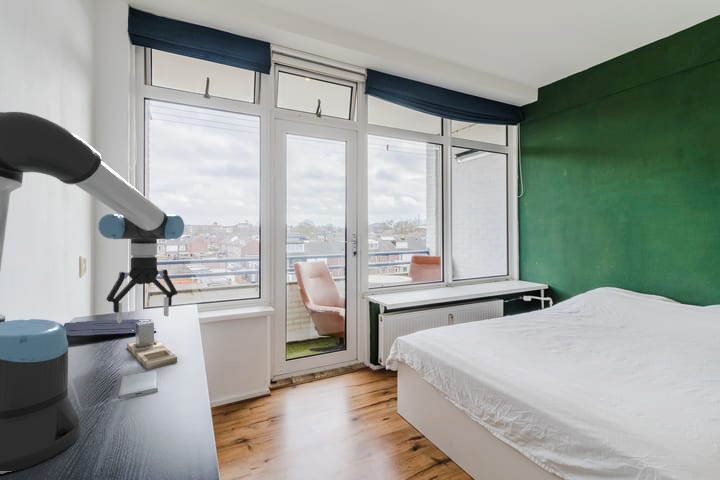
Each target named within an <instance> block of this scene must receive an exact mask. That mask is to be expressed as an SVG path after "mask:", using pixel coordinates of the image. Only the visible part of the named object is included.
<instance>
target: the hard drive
mask: <svg viewBox="0 0 720 480" xmlns="http://www.w3.org/2000/svg"><path fill="white" fill-rule="evenodd" d="M158 384H159V383H158V371H157V370H150V371H146V372H140V373H135V374H129V375H125V376H122V377H121V381H120V387H119V391H118V401H119V400H123V399H128V398H132V397H134V398H135V397H137V396H142V395H143V396H144V395H146V394H147V395H148V394H152V393H156V392H158V391H159V387H158V386H159V385H158Z"/></svg>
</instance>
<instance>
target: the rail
mask: <svg viewBox="0 0 720 480" xmlns="http://www.w3.org/2000/svg"><path fill="white" fill-rule="evenodd" d="M126 348H127V349H128V350H129V351H130V352H131V354H133V356H134V357H135V358H136V359H137V361H139V362H140V363H141V364H142V366H144V368H145V369H146V370H151V369H155V368H158V367H162V366H163V367H164V366H167V365H170V364H171V365H172V364H174V363H177V362H178V356H177V355H176V354H174V353H173V352H172V351H171V350H170V349H168V348H167V347H166V346H164V345H163V344H162V343H161V342H160V341H158V340H157V339H155V338H154V345H152V346H147V347H143V348H138V349H137V348H136V340H135V341H131V342H127V343H126Z"/></svg>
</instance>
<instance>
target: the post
mask: <svg viewBox="0 0 720 480" xmlns="http://www.w3.org/2000/svg"><path fill="white" fill-rule="evenodd" d="M148 320H149V321H143V322H137V323H136V333H135V341H136V348H137V349H138V348H143V347H147V346H152V345H154V339H155V332H154V329H155V322H154V321H151V320H152V319H148Z"/></svg>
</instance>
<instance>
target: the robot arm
mask: <svg viewBox="0 0 720 480" xmlns="http://www.w3.org/2000/svg"><path fill="white" fill-rule="evenodd" d="M102 159H103V158H102V155H101V154H100V152H99V151H97V150H96V148H93V147H92V146H91V145H89V143H88V142H87V141H85V140H84V139H82V138H80V137H79V136H78V135H76V134H74V133H73V132H71V131H70V130H68V129H66V128H65V127H63V126H61V125H59V124H58V123H55V122H53V121H51V120H49V119H46V118H44V117H42V116H39V115H36V114H33V113H29V112H24V111H4V112H3V111H2V112H1V111H0V271H1V268H2V261H3V260H2V259H3V251H4V244H5V237H6V231H7V230H6V228H7V222H8V221H7V220H8V213H9V205H10V197H11V194H12V192H13V191H15V190H18V189H19V188H21V187H22V184H23V177H24V173H37V174H43V175H46V176H51V177H53V178H55V179H57V180H58V181H60V182H62V183H64V184H67V185H72V186H73V185H75V186H76V187H78V188H79V189H81V190H82V191H84V192H85V193H87V194H88V195H90V196H91V197H93V198H94V199H95V200H98V201H99V202H101V203H102V204H104V205H105V206H107V207H108V208H109V209H111V210H112V211H114V212H116V213H108V214H105V215H104V216H102V217H101V218H100V219H99V222H98V231H99V233H100V234H101V236H102V237H104V238H106V239H110V240H130V256H132V257H131V258H130V271H129V272H127V271H126V272H125V271H119V273H118V278H117V280H116V281H115V283H114V285H113V287H112V288H111V290H110V291H109V293H108V295H107V297H106V301H108V302H109V303H110V302H111V303H113V308H112V309H113V313H114V314H115V313H117V314H116V315H117V316H116V318H117V319H116V320H117V322H118V323H122V320H123V302H122V299H123V298H124V297H125V296H126V295H127V294H128V292H130V291H131V289H132V288H134V287H135V286H136V285H144V284H146V285H147V284H148V285H149V284H151V283H152V284H153V285H155V286H156V287H157V289H159V290H160V291H161V292H162V293H163V294H164V295H165V296H163V316H164V317H169V312H170V311H169V307H171V306H172V303H173V302H172V298H173V296H176V295H178V291H177V289H176V287H175V286H174V283H173V282H172V280H171V278H170V276H169V274H168V270H167V269H160V270H158V257H157V255H158V241H157V240H168V241H169V240H175V239H180V238H181V237H182V236H183V234H184V230H185V222H184V220H183V218H182V217H181V216H180V215H178V214H173V213H169V214H167V213H165V211H163V210H162V209H160V208H159V207H158V206H157V205H156V204H155V203H153V202H152V201H151V200H149V198H147V197H146V196H145V195H143V194H142V193H141V191H139V190H137V188H135V187H134V186H132V185H131V184H130V183H129V182H127V181H126V179H124V178H123V177H122V176H120V175H119V174H118V173H117V172H115V171H114V170H113V169H112V168H111V167H109V166H108V165H107V164H106V163H105V162H103V160H102ZM158 275H160V277H162V278H163V280H164V282H165V284H166V285H167V287H168V289H169V290H168V289H167V288H166V287H165V286H164V285H163V284H161V282H160V281H159V280H158V279H157V277H158ZM128 277H130V278H131V280H130V281H129V282H128V283H127V284H126V285H125V287H123V288H122V290H121V291H120V292H119V293H118V291H119V290H120V288H121V286H122V285H123V283H124V280H125V279H127V278H128ZM117 293H118V294H117ZM67 336H68V335H66V329H65V327H64V324H61V323H60V322H58V321H55V320H49V319H37V318H36V319H35V318H33V319H32V318H31V319H14V320H12V319H11V320H6V315H4V314H3V313H1V312H0V471H14V470H18V471H21V470H20V469H22V470H25V469H28V468H30V467H33V466H35V465H39V464H40V463H42V462H45V461H46V460H49V459H51V458H53V457H55V456H57V455H58V454H60V453H62V452H63V451H65V450H66V449H68V448H69V447H70V446H71V445H72V444H74V443H75V442H76V441H77V439H78V438H79V437H80V434H81V421H80V419H79V416H78V415H77V412H76V410H75V408H74V406H73V404H72V403H71V401H70V398H69V393H68V392H69V390H68V389H69V388H68V386H69V378H68V377H69V376H68V375H69V340H68V338H67Z"/></svg>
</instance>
